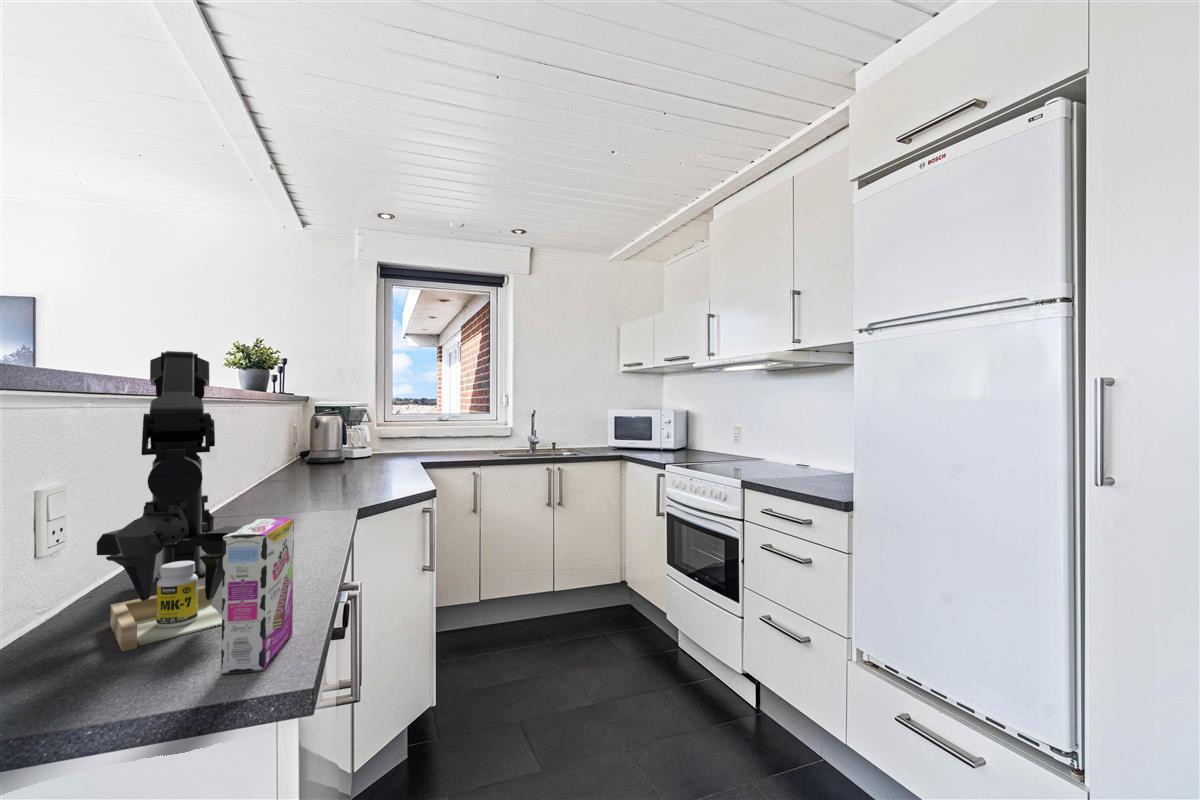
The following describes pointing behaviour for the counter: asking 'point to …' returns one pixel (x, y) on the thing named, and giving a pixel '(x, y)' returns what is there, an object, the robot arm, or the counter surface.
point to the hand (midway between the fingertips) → (177, 599)
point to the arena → (140, 624)
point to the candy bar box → (256, 594)
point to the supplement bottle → (177, 594)
